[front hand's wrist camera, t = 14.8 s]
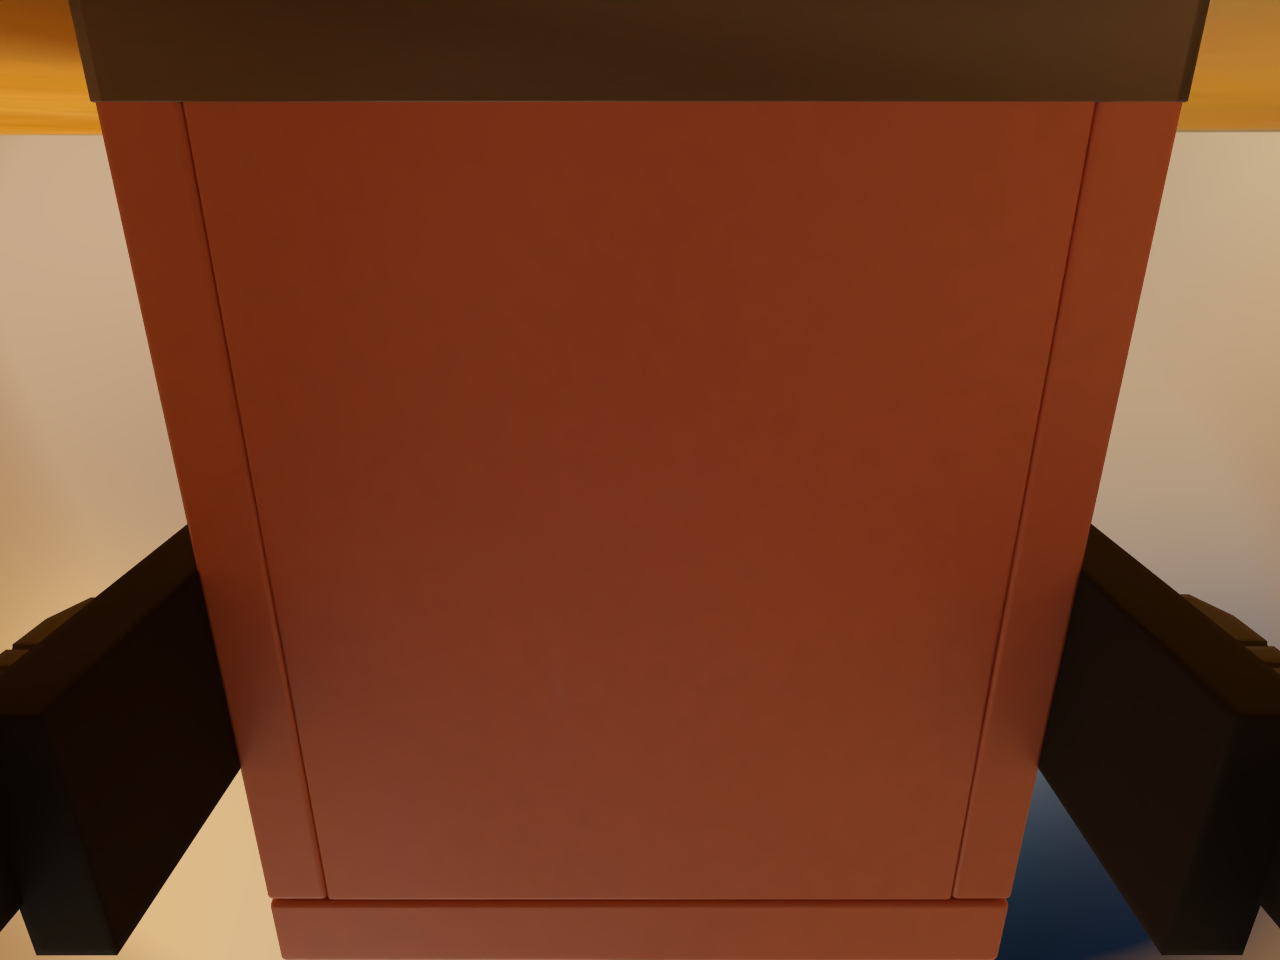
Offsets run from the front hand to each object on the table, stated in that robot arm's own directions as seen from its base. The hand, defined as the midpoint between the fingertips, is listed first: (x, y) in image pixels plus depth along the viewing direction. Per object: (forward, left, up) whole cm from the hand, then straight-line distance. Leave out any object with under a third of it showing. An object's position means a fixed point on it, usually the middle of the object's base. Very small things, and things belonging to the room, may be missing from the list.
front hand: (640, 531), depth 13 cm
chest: (+2, -3, -7) cm, 8 cm away
